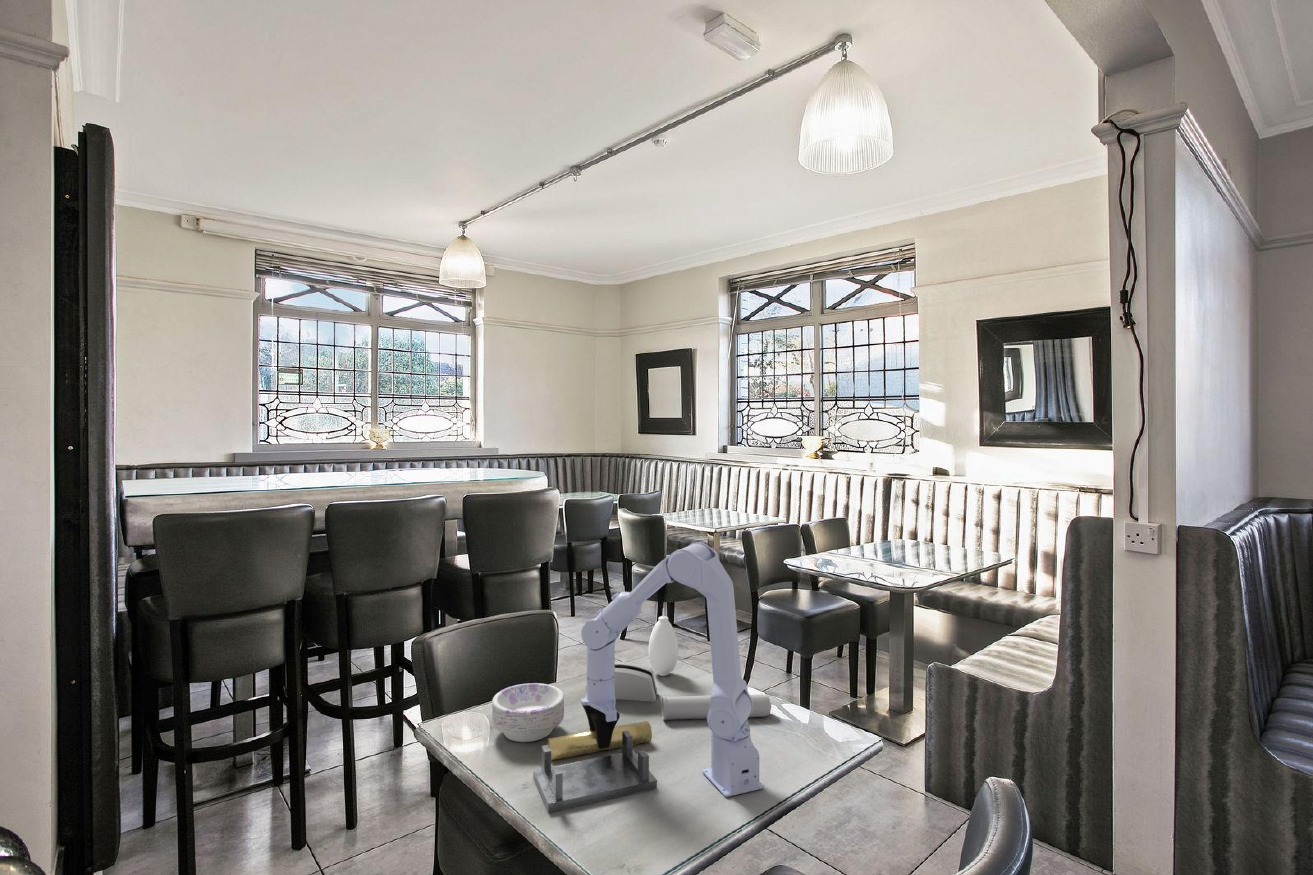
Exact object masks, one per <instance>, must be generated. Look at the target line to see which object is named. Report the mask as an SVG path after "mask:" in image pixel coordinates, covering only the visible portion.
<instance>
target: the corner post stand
mask: <svg viewBox="0 0 1313 875" xmlns="http://www.w3.org/2000/svg"><path fill="white" fill-rule="evenodd" d="M633 746H634V745H633V736H632V735H631V733H630V732H629V731H622V747H621V750H622V751H621V753H615V754H610V755H604V756H599V757H594V758H590V759H589V758H588V759H583V760H580V761H579V760H578V761H575V762H569V763H564V764H563V763H562V764H558V765H552V760H551V750H550V748H549V746H548V745H547V744H545V745H541V746H540V747H541V750H540V751H541V755H540V756H541V759H540V760H541V761H540V762H541V763H540V764H541V766H540V768H539V769H533V770H532V771H533V772H532V774H533V775H532V778H533V781H534V784H535V786H536V788H537V790H538V792H539V794H540V797H541V799H542V801H543V803H544V806H545V809H546V811H547V812H548V813H553V812H558V811H562V810H567V809H571V808H572V809H573V808H575V807H580V806H585V805H589V804H593V803H594V804H595V803H599V802H602V801H607V800H612V799H616V798H621V797H625V796H629V795H630V796H631V795H633V794H634V795H635V794H640V793H644V792H649V791H653V790H657V789H658V780H657V779H656V777H655V776H654V774H653V773H652V772H651V771H650V754H648V752H646V751H645V749H642V750H637V752H635V751H634V748H633Z"/></svg>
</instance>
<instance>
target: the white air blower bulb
mask: <svg viewBox="0 0 1313 875" xmlns="http://www.w3.org/2000/svg"><path fill="white" fill-rule="evenodd" d="M657 619H658V621H657V622H656V623H655V624H654V626H653V628H652V630H651V633H650V637H649V641H648V660H649V664H650V666H651V669H652V671H653V672H656V674H657V675H659V676H661V677H666V676H667V675H669V674H670V673H672V671H674V669H675V668H676V665H677V662H678V659H679V658H678V656H679V645H678V644H679V643H678V639H677V635H676V632H675V630H674V626H672V623H671V622H670V620H669V617H668V616H665V608H664V607H663V608H662V615H661V616H659V617H658V618H657Z"/></svg>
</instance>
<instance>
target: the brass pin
mask: <svg viewBox="0 0 1313 875" xmlns="http://www.w3.org/2000/svg"><path fill="white" fill-rule="evenodd" d="M622 731H629V732H630V733H631V735H632V736H633V746H635V745H639V744H644V743H645V744H646V743H650V742H651V741H652V736H653V735H652V734H653V732H652V727H651V724H650V722H649V721H648V720H645V721H641V722H635V723H629V724H624V725H622V724H621V725H617V726H616V725H615V728H614V730H613V734H612V738H611V742H610V746H609V747H608V748H603V749H599V747H598V743H597V736H596V730H594V731H590V730H589V731H584V732H583V731H582V732H578V733H573V734H566V735H562V736H561V735H560V736H556V737H551V738H550V737H549V738H548V739H547V741H546V742H547V743H546V745H548V746H549V748H550V750H551V761H555V760H560V759H561V760H562V759H567V758H572V757H577V756H582V755H586V754H592V753H597V752H603V751H608V750H613V749H614V750H615V749H618V748H622Z"/></svg>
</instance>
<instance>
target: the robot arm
mask: <svg viewBox="0 0 1313 875" xmlns="http://www.w3.org/2000/svg"><path fill="white" fill-rule="evenodd" d="M674 582H677V583H679V584H682V585H684V586H687V587H689V588H692V589H694V590H696V591H697V592H699V593H700V594H701V595H702V596H704V597H705V599H706V607H707V620H708V621H707V622H708V631H709V642H710V643H709V645H710V658H711V665H712V666H711V668H712V669H711V670H712V678H713V679H712V680H713V683H712V686H711V687H712V688H711V691H710V695H709V696H710V701H711V705H710V709H709V712H708V715H707V719H706V722H707V726H708V728H709V730H710V731H711V732H710V733H711V735H710V737H711V739H710V747H711V748H710V752H711V753H710V760H711V761H710V767H709V768H708V767H707V768H704V769H702V774H704V776H705V777H707V779H708V780H709V781H710V782H711V783H712V784H713V785H714V786H715V788H716V789H717V790H718V791H719V792H720V793H721V794H722V795H723V796H724V797H732V796H736V795H739V794H744V793H750V792H753V791H758V790H761V789H764V784H763V783H762V782H761V781H760V753H759V750H758V749H757V747H756V746H755V745H754V743H753V742H752V738H751V728H750V723H749V721H748V718H750V717H749V716H750V715H751V714H752V711H753V701H752V698H751V696H750V695H751V694H750V693H749V691H748V686H747V682H746V680H744V678H742V669H741V659H740V649H739V648H740V647H739V634H738V624H737V612H736V600H735V599H736V598H735V589H734V583H733V581H732V579H731V577H730V575H729V574H728V572H727V571H726V569H725V567H724V565H723V564H722V563H721V561H720V558H719V554H718V552H717V551H716V550H715V549H713V548H712V547H711V546H709V545H707V544H706V543H703V542H693V543H690V544H689V545H688V546H685V547H683V548H681V549H676V550H675V551H673V552H672V553H671V554H670V555H668V557H665V558H664V559H663V560H661V561H660V562H659V563H657V565H655V567H653V569H652V570H650V572H648V573H647V575H646V576H645V577H643V579H641V581H640V582H639V583H638V584H637V585H636V586H635V587H634V588H632V590H631V591H621V592H620V593H619V592H616V593H615V594H613V595H612V596H611V598H610V599H611V600H612V601H610V603H608V605H606V606H605V607H604V608H600V609H598V610H597V612H596V614H597V615H596V617H595V618H593V619H589V620H586V622H585V623H584V625H583V626H582V628H581V633H580V634H581V640H582V642H583V643H584V645H585V646H586V685H585V697H582V698H580V704H581V705H582V708H583V709H584V711H585V714H586V718H587V721H588V726H589V731H594V730H596V736H597V743H598V747H599V749H603V748H608V747H609V746H610V742H611V738H612V734H613V730H614V728H615V727H616V725H617V723H618V722H619V720H620V716H621V715H620V712H618V711H617V709H616V700H617V699H616V697H615V662H616V660H615V659H616V658H615V657H616V655H615V654H616V653H615V652H616V651H615V648H616V640H617V639H618V638H619V637H620V634H621V633H622V632H623V631H624V630H625V629H626V628H627V627H628V626H630V624H632V623H633V622H634V620H636V619H637V618H638V617H639V616H640V615H641V614H642V604H643V603H644V602H646V601H647V600H648V599H649V598H651V597H652V595H654V594H655V593H656V592H658V591H659V589H661V588H662V587H663V586H665V584H672V583H674Z"/></svg>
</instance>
